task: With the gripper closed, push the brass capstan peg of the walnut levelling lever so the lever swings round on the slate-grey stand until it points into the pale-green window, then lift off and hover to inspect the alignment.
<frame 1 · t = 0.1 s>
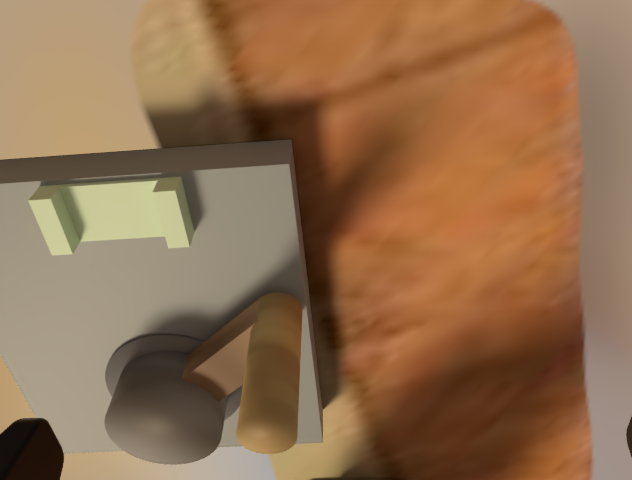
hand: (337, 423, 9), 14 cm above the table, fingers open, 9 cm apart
cam lever: (200, 417, 23), point 5 cm above the table, hinge at -50.0°
stand base: (160, 306, 27), on the table
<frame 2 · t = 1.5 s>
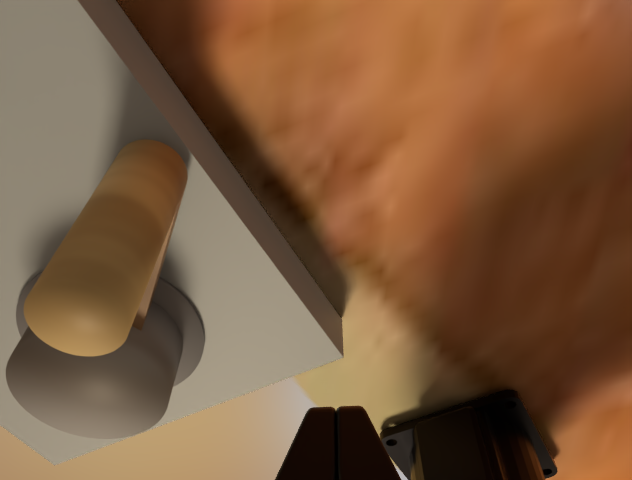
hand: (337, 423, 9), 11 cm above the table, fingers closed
cam lever: (93, 350, 16), point 5 cm above the table, hinge at -50.0°
stand base: (63, 242, 20), on the table
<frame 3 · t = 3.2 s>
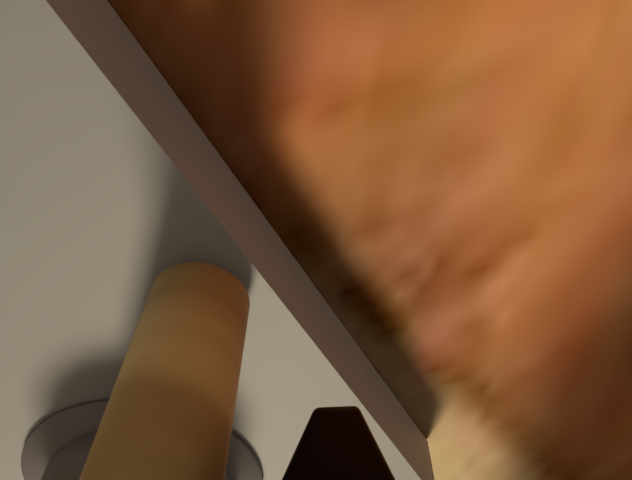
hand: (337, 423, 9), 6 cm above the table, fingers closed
stand base: (80, 360, 16), on the table
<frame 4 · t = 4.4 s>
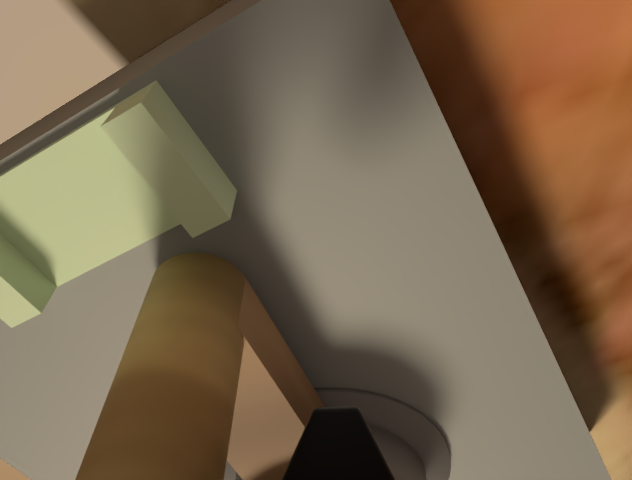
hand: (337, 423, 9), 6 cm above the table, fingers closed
stand base: (261, 351, 16), on the table
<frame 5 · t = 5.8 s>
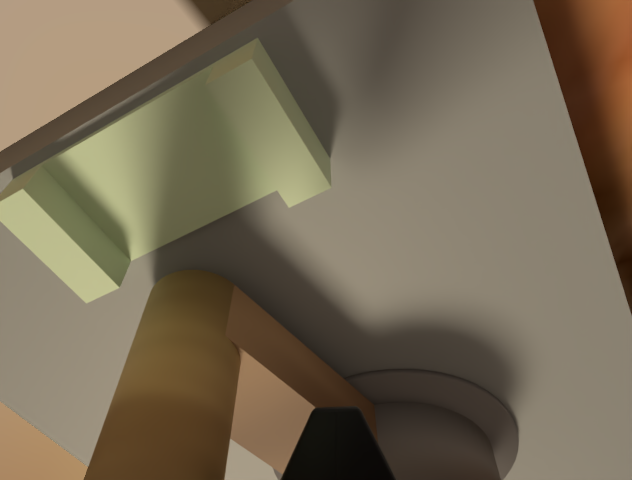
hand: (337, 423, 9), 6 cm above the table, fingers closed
stand base: (321, 332, 15), on the table
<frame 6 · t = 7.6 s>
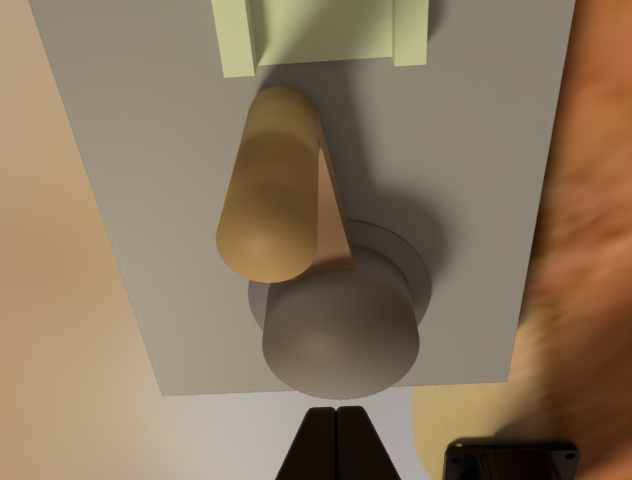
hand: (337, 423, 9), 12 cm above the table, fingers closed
cam lever: (319, 301, 16), point 5 cm above the table, hinge at 10.2°
stand base: (319, 193, 20), on the table
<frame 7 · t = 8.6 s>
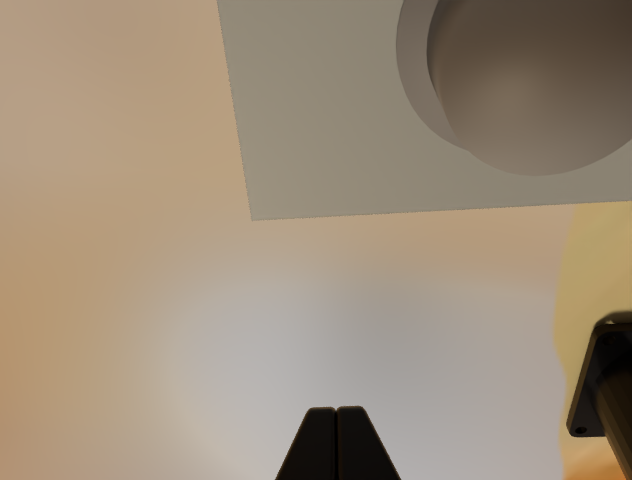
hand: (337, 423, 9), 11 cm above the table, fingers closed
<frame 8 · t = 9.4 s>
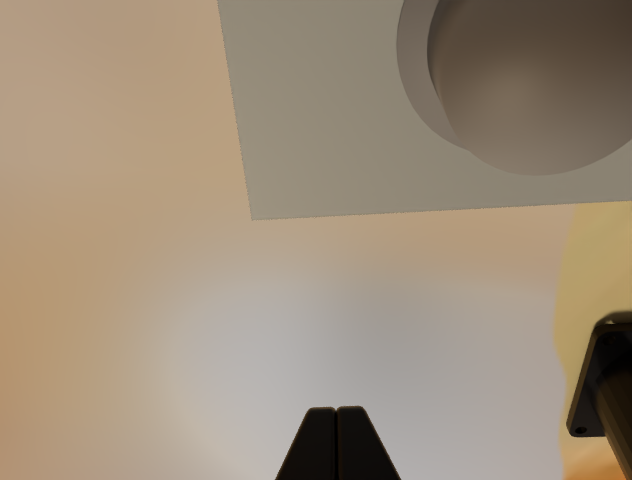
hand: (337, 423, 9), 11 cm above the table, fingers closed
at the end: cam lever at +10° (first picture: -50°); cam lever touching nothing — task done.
